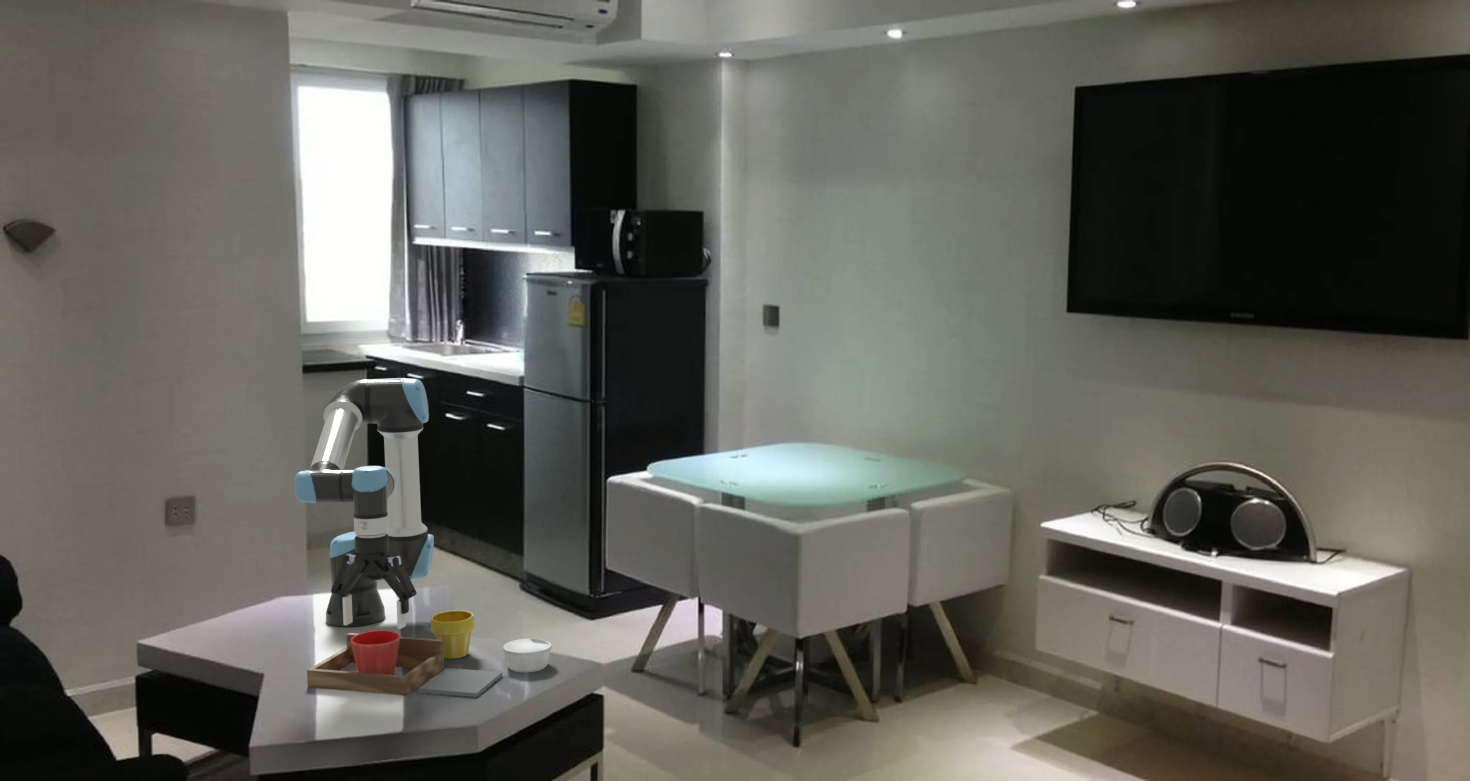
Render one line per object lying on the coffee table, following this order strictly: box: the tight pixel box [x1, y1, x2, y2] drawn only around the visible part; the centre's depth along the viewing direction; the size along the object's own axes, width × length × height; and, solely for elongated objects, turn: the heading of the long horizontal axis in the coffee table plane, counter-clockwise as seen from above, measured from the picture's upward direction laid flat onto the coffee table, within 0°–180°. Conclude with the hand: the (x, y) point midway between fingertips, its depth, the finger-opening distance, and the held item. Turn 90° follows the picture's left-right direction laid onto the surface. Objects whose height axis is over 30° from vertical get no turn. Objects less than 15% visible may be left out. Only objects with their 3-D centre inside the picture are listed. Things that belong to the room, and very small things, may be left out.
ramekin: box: [502, 637, 552, 673], centre depth 299 cm, size 11×11×5 cm
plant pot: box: [430, 609, 475, 660], centre depth 307 cm, size 10×10×10 cm
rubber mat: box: [417, 667, 503, 698], centre depth 287 cm, size 14×14×1 cm
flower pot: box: [351, 630, 401, 675], centre depth 291 cm, size 11×11×10 cm
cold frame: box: [306, 632, 445, 696], centre depth 291 cm, size 18×24×7 cm
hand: (374, 625), depth 290 cm, fingers open, 13 cm apart
